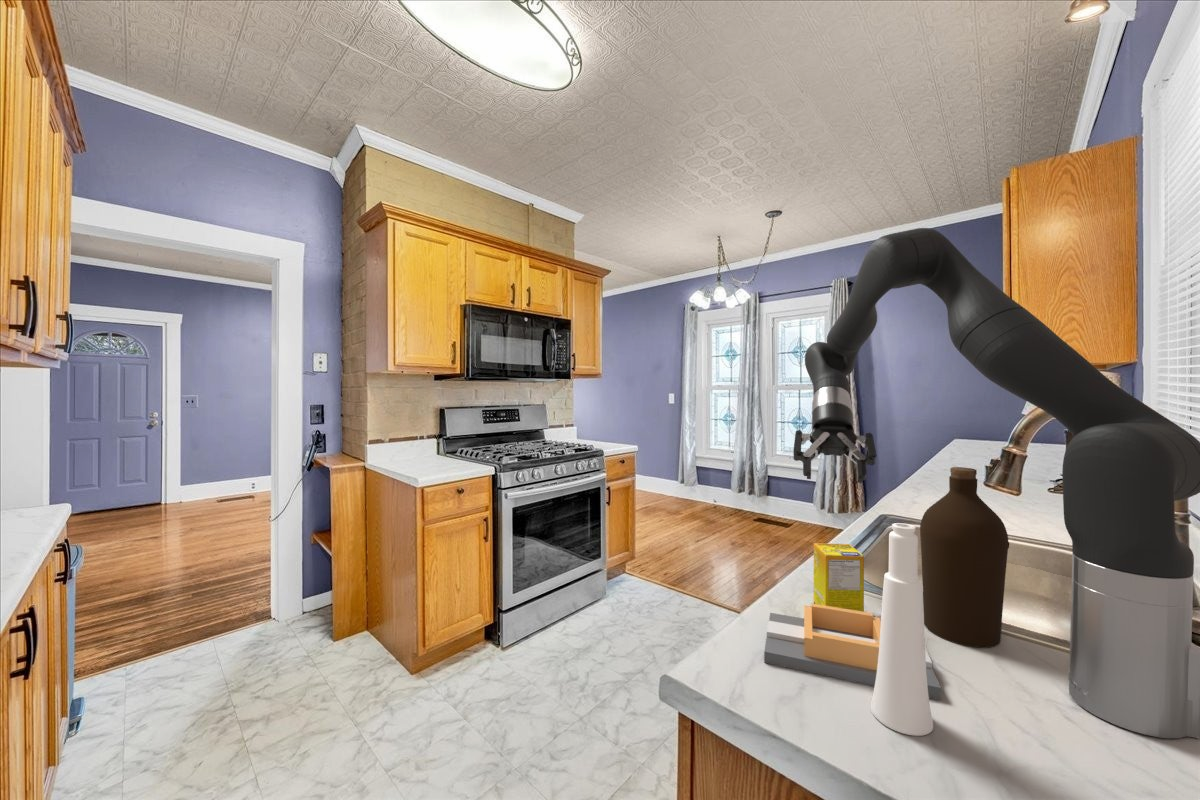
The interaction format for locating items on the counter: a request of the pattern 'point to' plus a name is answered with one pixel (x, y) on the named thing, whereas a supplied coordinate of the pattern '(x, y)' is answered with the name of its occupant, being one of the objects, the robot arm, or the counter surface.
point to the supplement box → (838, 576)
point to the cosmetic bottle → (902, 642)
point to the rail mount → (832, 645)
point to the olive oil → (963, 565)
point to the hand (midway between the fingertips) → (834, 478)
